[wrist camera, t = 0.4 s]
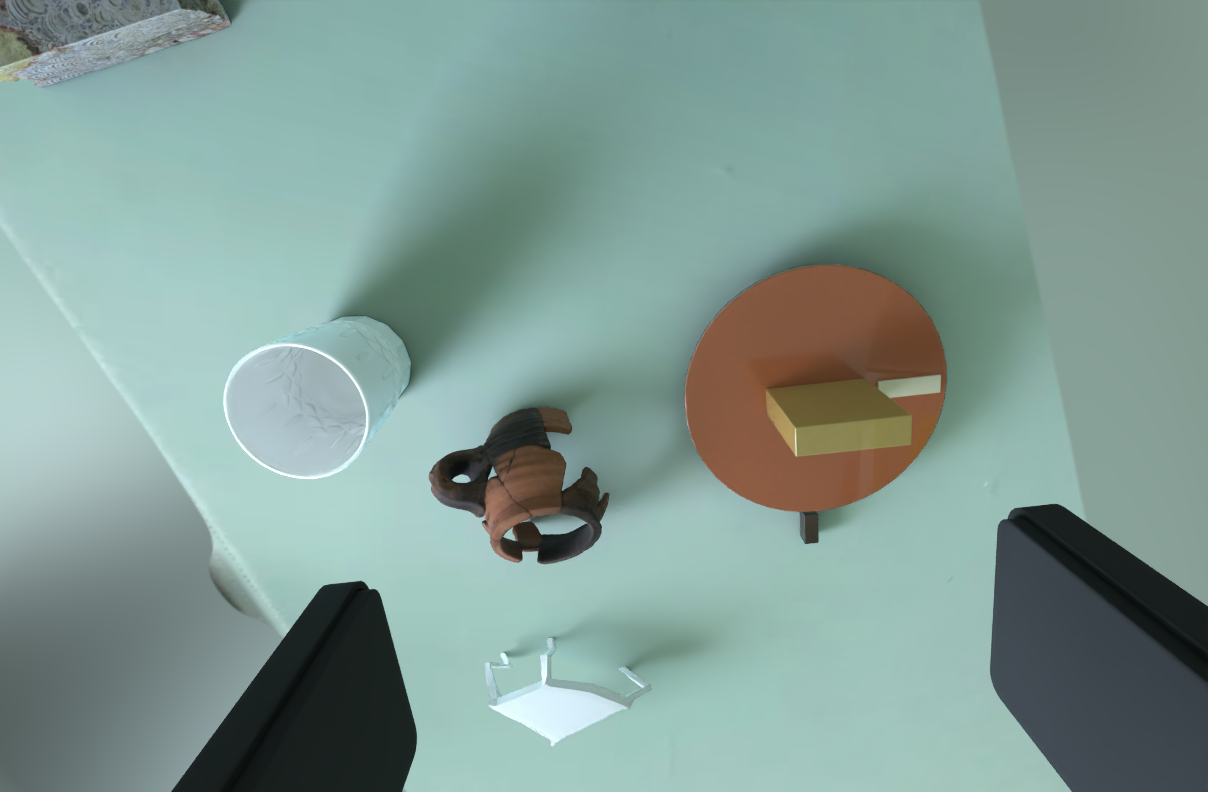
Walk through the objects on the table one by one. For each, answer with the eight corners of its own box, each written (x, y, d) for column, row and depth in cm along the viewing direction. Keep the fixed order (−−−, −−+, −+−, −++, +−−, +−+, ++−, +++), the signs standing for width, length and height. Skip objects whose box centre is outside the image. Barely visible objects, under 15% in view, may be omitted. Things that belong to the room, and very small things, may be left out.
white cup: (341, 282, 43) (265, 311, 34) (442, 352, 44) (397, 398, 35) (284, 374, 45) (198, 426, 36) (383, 437, 46) (325, 504, 37)
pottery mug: (609, 401, 46) (630, 499, 41) (580, 480, 53) (595, 573, 47) (433, 392, 43) (431, 497, 37) (425, 477, 49) (422, 578, 44)
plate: (673, 280, 41) (688, 302, 34) (948, 248, 40) (1023, 263, 33) (693, 519, 46) (709, 582, 39) (936, 494, 46) (999, 554, 38)
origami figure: (518, 722, 55) (510, 773, 50) (486, 642, 52) (474, 688, 47) (657, 692, 53) (662, 741, 49) (631, 608, 51) (634, 652, 46)
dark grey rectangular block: (727, 321, 44) (731, 327, 42) (877, 304, 43) (887, 309, 42) (740, 541, 49) (744, 553, 47) (874, 528, 49) (883, 539, 47)
